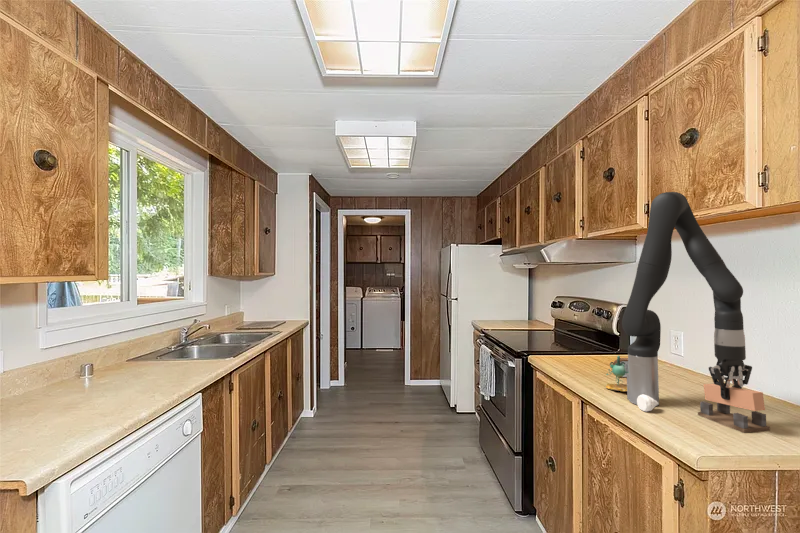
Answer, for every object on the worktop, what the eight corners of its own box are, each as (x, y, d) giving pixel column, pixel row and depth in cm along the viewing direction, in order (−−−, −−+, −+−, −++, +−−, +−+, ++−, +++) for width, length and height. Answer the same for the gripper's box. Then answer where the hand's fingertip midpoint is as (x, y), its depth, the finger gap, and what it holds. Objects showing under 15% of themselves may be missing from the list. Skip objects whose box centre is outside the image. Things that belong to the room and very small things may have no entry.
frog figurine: (618, 398, 152) (614, 357, 154) (599, 389, 170) (596, 353, 172) (645, 397, 152) (641, 357, 153) (623, 388, 169) (619, 352, 171)
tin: (648, 376, 179) (648, 357, 179) (651, 378, 176) (651, 359, 176) (612, 376, 182) (611, 357, 182) (614, 378, 179) (614, 359, 179)
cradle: (697, 415, 133) (697, 401, 133) (721, 412, 135) (720, 399, 135) (744, 433, 118) (743, 417, 118) (769, 430, 120) (769, 414, 120)
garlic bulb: (663, 412, 136) (663, 396, 136) (648, 413, 135) (647, 397, 135) (650, 406, 142) (650, 391, 142) (635, 408, 140) (635, 392, 140)
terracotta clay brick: (755, 411, 117) (752, 393, 118) (705, 399, 133) (703, 384, 134) (765, 410, 118) (762, 392, 119) (714, 399, 134) (712, 383, 134)
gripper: (721, 346, 122) (723, 404, 121) (761, 344, 124) (763, 400, 124) (699, 342, 129) (701, 396, 129) (736, 340, 131) (738, 393, 131)
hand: (731, 398), depth 126 cm, fingers closed on terracotta clay brick, 3 cm apart
